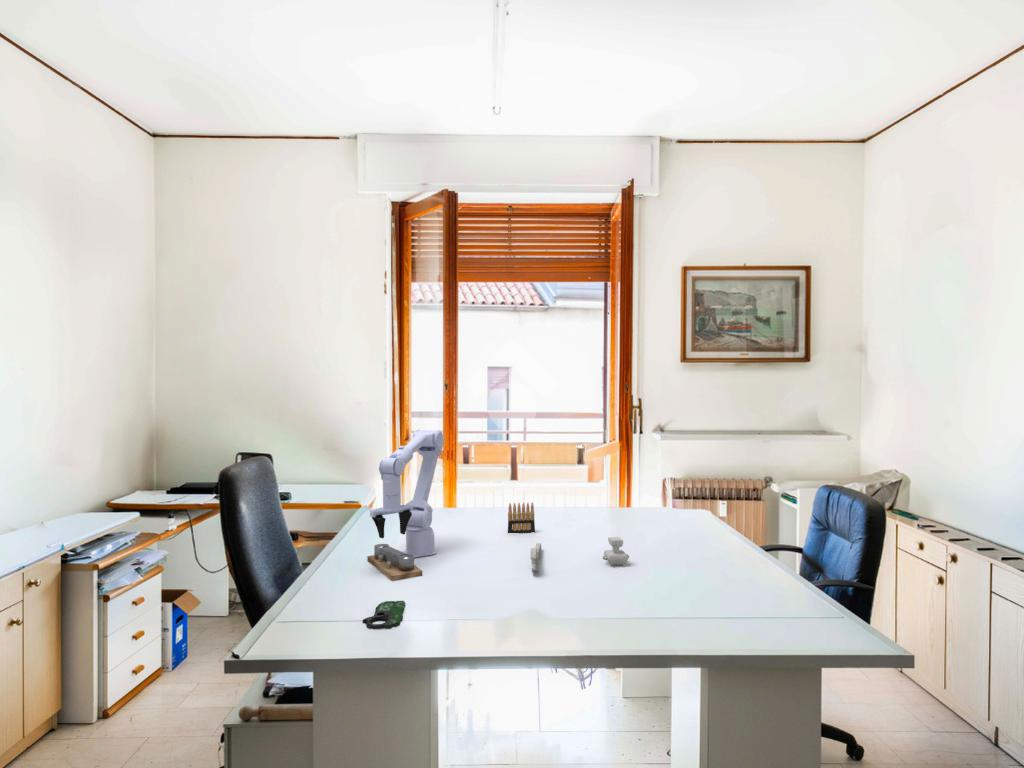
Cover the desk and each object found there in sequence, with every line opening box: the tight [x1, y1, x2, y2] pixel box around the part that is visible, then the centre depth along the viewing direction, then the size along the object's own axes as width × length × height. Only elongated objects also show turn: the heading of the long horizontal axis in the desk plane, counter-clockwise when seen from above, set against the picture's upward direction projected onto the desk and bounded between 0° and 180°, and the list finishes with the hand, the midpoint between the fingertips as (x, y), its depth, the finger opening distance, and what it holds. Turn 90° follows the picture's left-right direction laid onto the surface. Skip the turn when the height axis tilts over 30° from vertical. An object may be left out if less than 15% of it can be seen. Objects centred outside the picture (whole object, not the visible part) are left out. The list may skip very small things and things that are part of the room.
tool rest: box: [366, 554, 423, 582], centre depth 205 cm, size 10×24×4 cm, turn 31°
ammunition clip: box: [507, 502, 536, 534], centre depth 247 cm, size 11×2×12 cm, turn 97°
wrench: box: [530, 542, 542, 573], centre depth 209 cm, size 8×2×30 cm
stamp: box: [602, 536, 630, 566], centre depth 207 cm, size 9×7×8 cm
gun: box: [362, 600, 406, 630], centre depth 165 cm, size 16×2×10 cm
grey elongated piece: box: [373, 543, 415, 571], centre depth 205 cm, size 5×21×4 cm, turn 40°
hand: (392, 535), depth 205 cm, fingers open, 7 cm apart
